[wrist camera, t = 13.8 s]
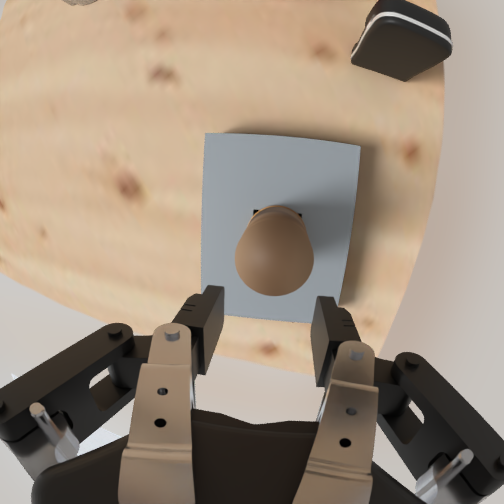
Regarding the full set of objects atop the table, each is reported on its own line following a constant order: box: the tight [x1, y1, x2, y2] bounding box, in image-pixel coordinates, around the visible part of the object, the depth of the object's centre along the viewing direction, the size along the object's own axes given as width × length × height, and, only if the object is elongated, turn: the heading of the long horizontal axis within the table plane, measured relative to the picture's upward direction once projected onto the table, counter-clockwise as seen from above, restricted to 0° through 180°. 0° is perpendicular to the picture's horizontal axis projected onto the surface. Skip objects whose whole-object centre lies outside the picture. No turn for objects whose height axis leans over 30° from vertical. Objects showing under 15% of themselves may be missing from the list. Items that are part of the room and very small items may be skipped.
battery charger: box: [351, 0, 453, 82], centre depth 16 cm, size 7×4×11 cm, turn 80°
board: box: [201, 133, 361, 323], centre depth 27 cm, size 14×18×4 cm
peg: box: [235, 205, 314, 296], centre depth 24 cm, size 6×6×10 cm
